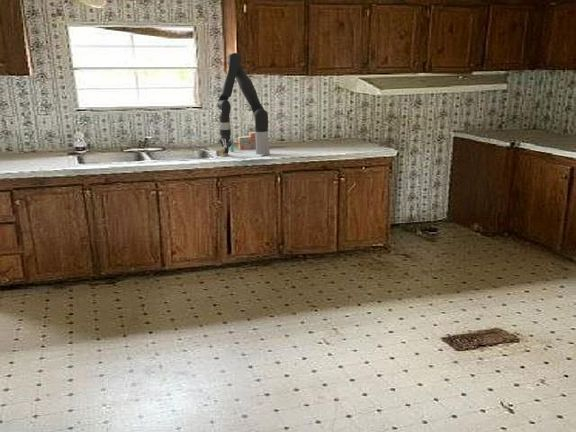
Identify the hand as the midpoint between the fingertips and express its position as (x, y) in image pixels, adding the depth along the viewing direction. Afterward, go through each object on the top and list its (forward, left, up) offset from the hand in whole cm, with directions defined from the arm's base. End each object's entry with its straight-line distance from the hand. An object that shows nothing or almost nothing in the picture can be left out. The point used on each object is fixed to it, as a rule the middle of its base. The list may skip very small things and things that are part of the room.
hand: (226, 152), depth 396 cm
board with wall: (0, -4, -4) cm, 5 cm away
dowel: (-14, -10, -4) cm, 18 cm away
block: (0, -4, -2) cm, 5 cm away
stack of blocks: (-40, -15, -4) cm, 43 cm away
